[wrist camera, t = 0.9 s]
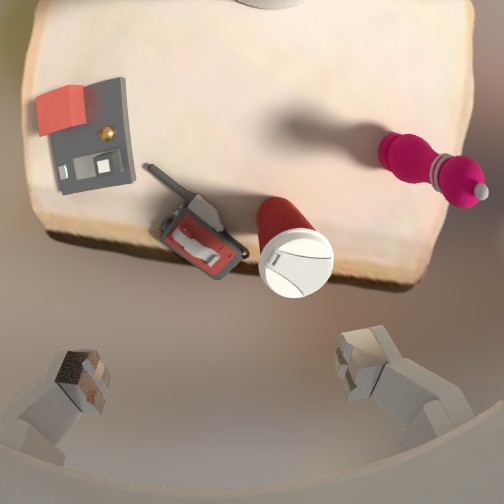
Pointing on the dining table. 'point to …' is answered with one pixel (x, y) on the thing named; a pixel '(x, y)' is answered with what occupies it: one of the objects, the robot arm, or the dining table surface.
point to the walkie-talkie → (199, 233)
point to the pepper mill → (433, 169)
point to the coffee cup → (291, 250)
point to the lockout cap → (60, 109)
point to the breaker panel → (96, 140)
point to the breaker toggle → (107, 164)
